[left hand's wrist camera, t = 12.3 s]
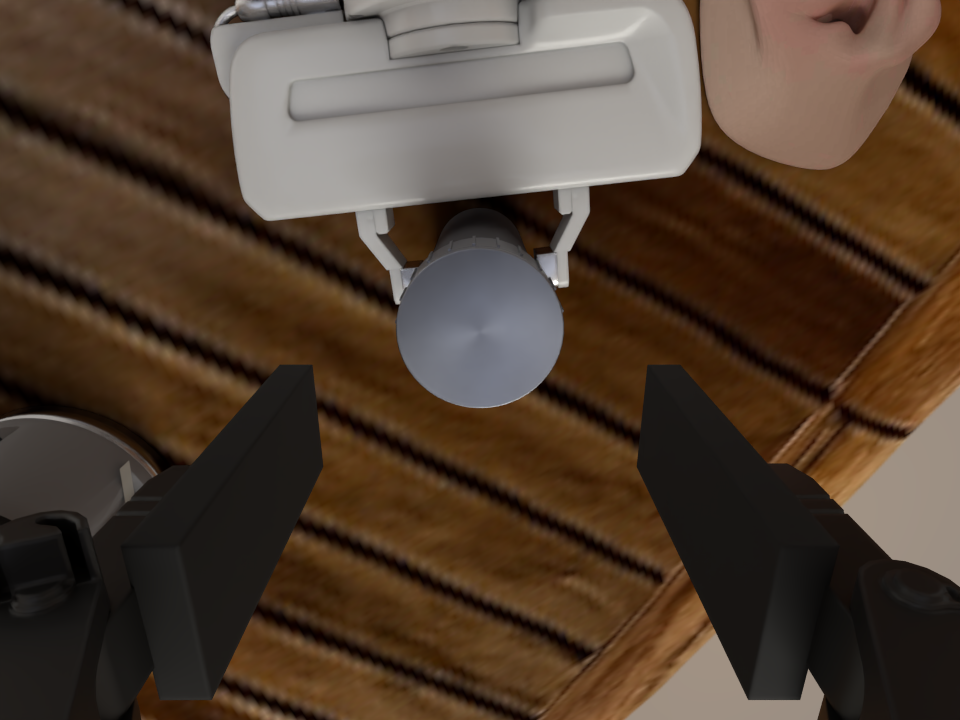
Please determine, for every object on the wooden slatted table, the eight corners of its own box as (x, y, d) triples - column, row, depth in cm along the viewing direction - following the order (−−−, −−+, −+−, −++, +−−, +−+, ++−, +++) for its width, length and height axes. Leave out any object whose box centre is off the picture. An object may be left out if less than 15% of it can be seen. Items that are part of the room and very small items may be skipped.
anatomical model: (934, 173, 30) (704, 173, 30) (884, 169, 33) (679, 169, 33) (1019, -159, 25) (745, -157, 25) (948, -120, 29) (711, -119, 29)
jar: (421, 234, 35) (381, 300, 20) (497, 191, 34) (510, 229, 20) (463, 307, 36) (452, 416, 22) (537, 268, 35) (575, 355, 21)
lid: (372, 283, 22) (360, 299, 20) (513, 205, 21) (517, 212, 19) (450, 410, 24) (447, 436, 22) (584, 343, 23) (594, 363, 21)
